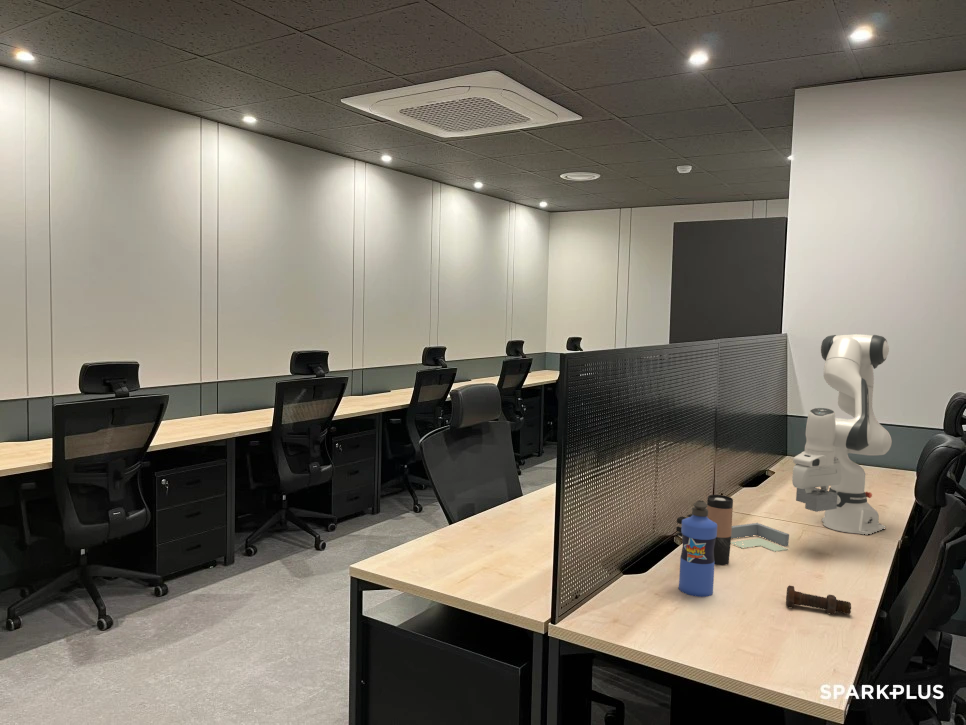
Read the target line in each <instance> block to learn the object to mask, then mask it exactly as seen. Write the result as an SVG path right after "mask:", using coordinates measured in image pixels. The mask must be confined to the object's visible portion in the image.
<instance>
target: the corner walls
mask: <svg viewBox="0 0 966 725" xmlns="http://www.w3.org/2000/svg"><path fill="white" fill-rule="evenodd" d="M753 535H758V536H757V537H759V536H761V537H760V538H762V537H764V538H766V539H765V540H767V539H768V540H767V541H770V540H771V541H770V542H772V541H773V542H772V543H775V542H776V543H775V544H777V543H778V544H777V545H780V544H781V545H780V546H782V547H788V546H789V540H790V539H789V538H790V534H789V533H787V532H784V531H781V530H780V529H779V530H778V529H776V528H773V527H770V526H768V525H764V524H763V523H759V522H754V523H746V524H739V525H732V532H731V538H737V537H738V538H737V539H740V538H739V537H744V538H746V537H745V536H751V537H754V536H753ZM764 538H763V539H764Z"/></svg>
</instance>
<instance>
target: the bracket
mask: <svg viewBox="0 0 966 725" xmlns="http://www.w3.org/2000/svg"><path fill="white" fill-rule="evenodd" d="M837 495H838V493H834V492H830V491H829V490H828V491H826V490H822V489H821V488H819V487H815V488H814V489H813V491H812V493H806V491H805V489H800V488H796V494H795V501H797V502H800V503H803V504H804V505H805V507H804V508H805V509H806V510H810V511H812V512H823V511H824V512H825V510H831V509H837Z"/></svg>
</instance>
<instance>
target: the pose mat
mask: <svg viewBox="0 0 966 725" xmlns="http://www.w3.org/2000/svg"><path fill="white" fill-rule="evenodd" d="M742 542H743V543H742ZM731 543H732V544H734V545H733V546H735V545H737V546H739V547H741V548H740V549H742V548H743V547H744V548H745V549H747V548H746V547H752V548H754V547H753V546H758V547H761V546H763V547H762V548H764V547H765V548H764V549H766V548H768V549H767V550H769V549H770V550H769V551H771V550H772V552H774V551H775V552H774V553H776V551H778V552H783V551H782V550H784V551H789V548H787V547H785V546H783V545H780V544H777V543H775V542H772V541H770V540H767V539H764V538H762V537H757V538H751V539H750V538H749V539H744V540H743V539H742V540H736V542H735V541H731ZM735 543H736V544H735ZM732 544H731V545H732ZM742 544H744V545H742ZM737 546H736V547H737ZM739 547H738V548H739Z"/></svg>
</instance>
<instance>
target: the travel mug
mask: <svg viewBox="0 0 966 725" xmlns="http://www.w3.org/2000/svg"><path fill="white" fill-rule="evenodd" d="M706 500H707V501H706V502H707V503H706V504H707V506H708V507H707V508H706V509H708V516H707V517H708V519H710V520H712V521H713V522H715V523H716V524H717V537H716V540H715V545H714V561H715V564H714V565H716V566H717V565H718V566H725V565H728V564H729V562H730V554H731V545H732V544H731V542H732V539H731V532H732V526H733V511H734V510H733V508H734V499H733V498H732V497H730V496H727V495H723V494H722V495H721V494H709V495H708V496H707V499H706Z"/></svg>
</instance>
